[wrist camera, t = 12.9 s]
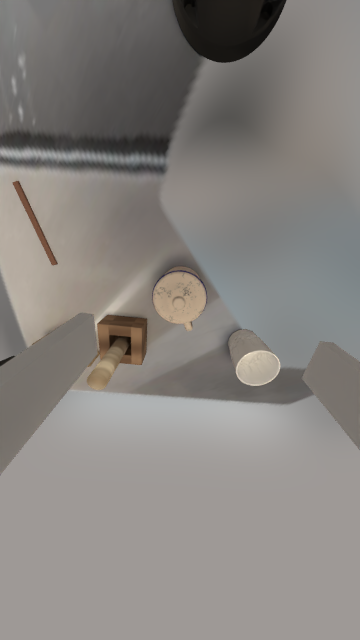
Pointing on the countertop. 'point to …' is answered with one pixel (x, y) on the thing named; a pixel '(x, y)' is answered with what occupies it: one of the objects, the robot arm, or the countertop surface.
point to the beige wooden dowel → (108, 363)
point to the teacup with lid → (180, 296)
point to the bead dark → (128, 327)
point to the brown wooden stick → (34, 222)
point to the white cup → (252, 358)
